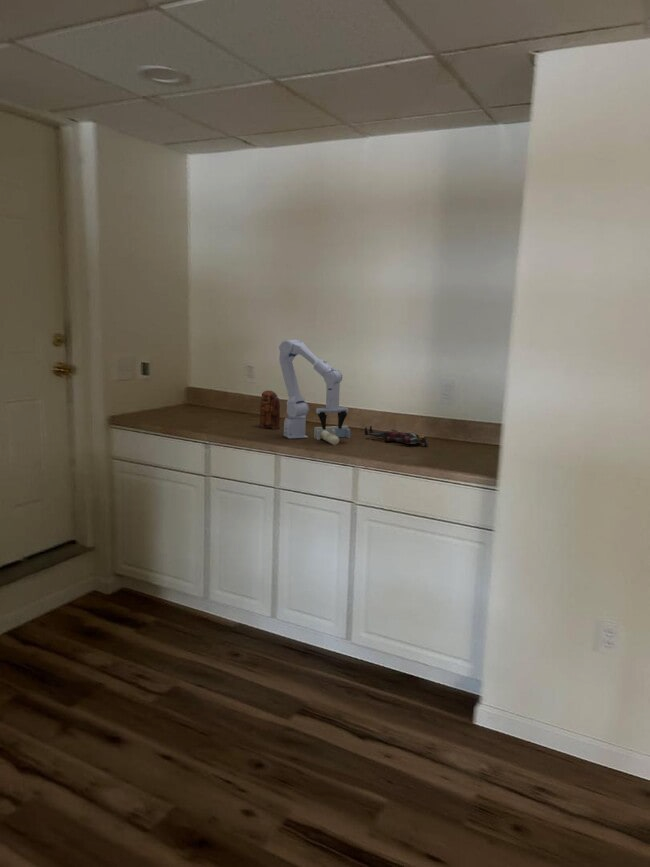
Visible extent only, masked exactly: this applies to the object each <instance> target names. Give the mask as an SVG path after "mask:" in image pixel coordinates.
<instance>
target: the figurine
mask: <svg viewBox="0 0 650 867" xmlns="http://www.w3.org/2000/svg"><path fill="white" fill-rule="evenodd" d="M364 435H365V436H367V435H368V436H372V437H376V438H382V439H383V440H384V441H383V442H393V441H395V442H399V443H404V444H406V445H417V444H419V443H422V444H424V445H423V446H424V447H425V448H428V446H429V445H428V443H427V438H426V436H424V435H422V434H420V435H419V434H417V433H414V432H403V431H398V430H396V429H393V428H392V429H390V430H389V429H388V430H386V431H373V428H372V426H371V425H370V426H369V431H368V427H364Z"/></svg>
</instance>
